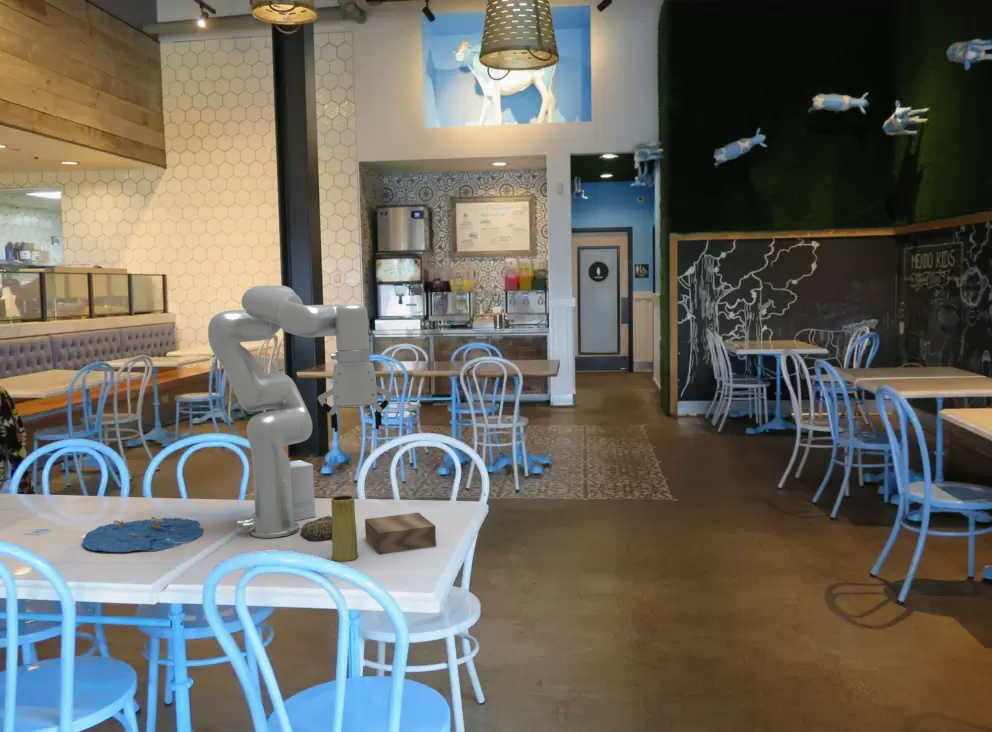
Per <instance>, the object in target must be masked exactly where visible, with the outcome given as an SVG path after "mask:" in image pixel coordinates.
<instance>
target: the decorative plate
mask: <svg viewBox="0 0 992 732" xmlns="http://www.w3.org/2000/svg"><path fill="white" fill-rule="evenodd" d="M112 522H113V523H109V524H105V525H101V526H98V527H96V528H95V529H93V530H90V531H88V532H87V533H85V536H84V537H83V539H82V546H83V547H84V548H86V549H88V550H90V551H92V550H93V552H97V551H98V552H105V553H110V552H111V553H114V552H115V553H130V552H133V551H138V550H139V551H144V552H158V551H164V550H165V549H169V548H174V547H178V546H179V547H180V546H181V545H185V544H189V543H191V542H193V541H194V540H195V539H198V538H199V537H203V532H204V528H203V527H201V524H200V522H199V521H198V520H192V519H189V518H186V519H185V518H181V517H179V518H178V517H174V518H171V517H164V518H163V517H162V518H158V517H153V516H151V519H143V520H132V521H126V522H124V521H122V520H121V521H120V520H117V519H115V520H113V521H112ZM153 540H154V541H153ZM151 541H152V542H151Z"/></svg>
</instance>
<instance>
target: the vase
mask: <svg viewBox="0 0 992 732" xmlns="http://www.w3.org/2000/svg"><path fill="white" fill-rule="evenodd" d="M330 499H331V500H330V501H331V517H332V539H331V542H332V547H331V548H332V549H331V550H332V552H331V554H332V555H331V559H332V560H333V561H335V562H349V561H350V562H351V561H353V560H356V559H357V558H358V557H359V554H358V537H357V524H356V509H355V505H356V504H355V496H353V495H352V494H351V495H350V494H349V495H348V494H342V495H336V496H333V497H331V498H330Z"/></svg>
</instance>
